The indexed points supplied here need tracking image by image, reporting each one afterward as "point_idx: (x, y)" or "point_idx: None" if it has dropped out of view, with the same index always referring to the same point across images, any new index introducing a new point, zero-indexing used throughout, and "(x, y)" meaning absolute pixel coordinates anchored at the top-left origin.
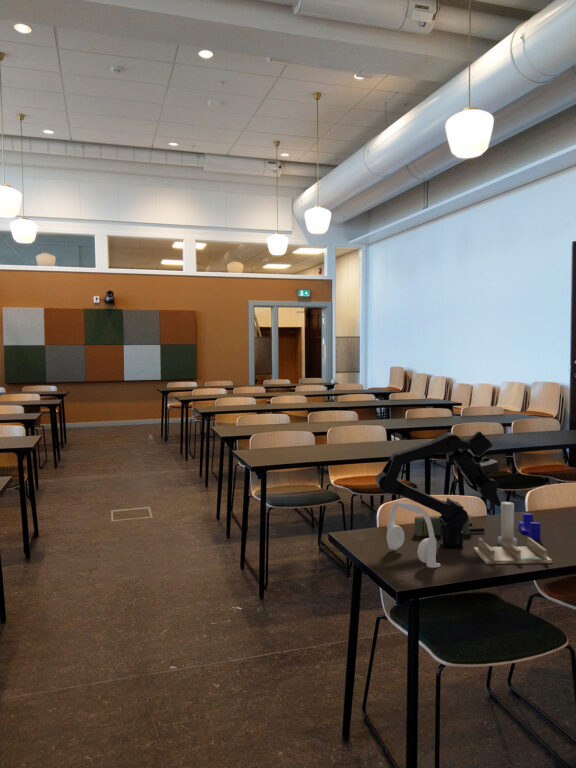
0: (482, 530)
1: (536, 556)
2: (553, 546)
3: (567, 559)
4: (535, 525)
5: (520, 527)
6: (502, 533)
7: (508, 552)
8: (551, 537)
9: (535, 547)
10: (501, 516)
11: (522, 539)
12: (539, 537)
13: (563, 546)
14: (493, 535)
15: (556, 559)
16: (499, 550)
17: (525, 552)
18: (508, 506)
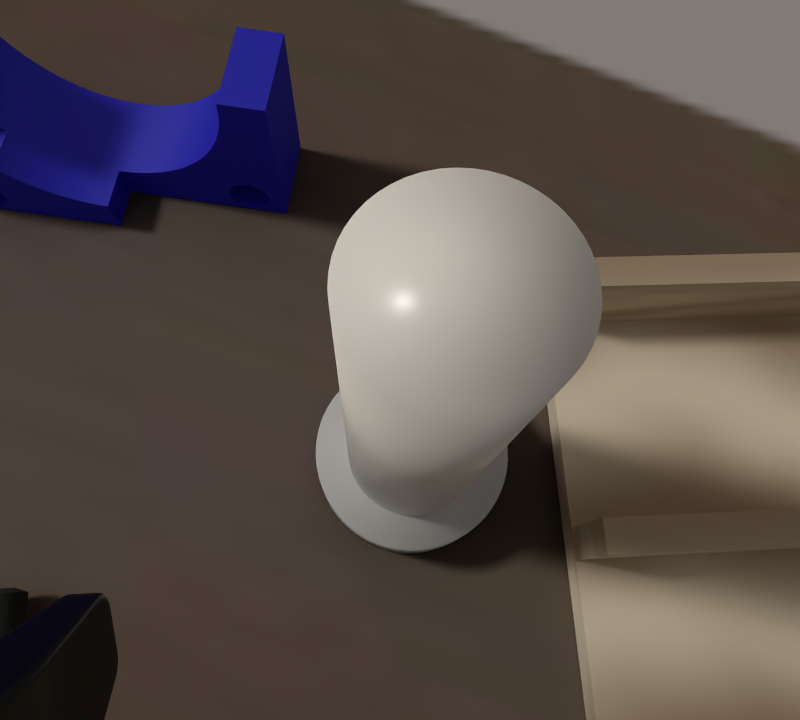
0: (22, 618)
1: (798, 338)
2: (451, 112)
3: (732, 131)
4: (278, 89)
5: (23, 192)
6: (444, 502)
7: (742, 556)
8: None
9: (747, 296)
10: (439, 473)
11: (270, 276)
12: (298, 137)
13: (449, 48)
14: (125, 512)
15: (746, 202)
16: (696, 633)
17: (714, 395)
18: (589, 322)
